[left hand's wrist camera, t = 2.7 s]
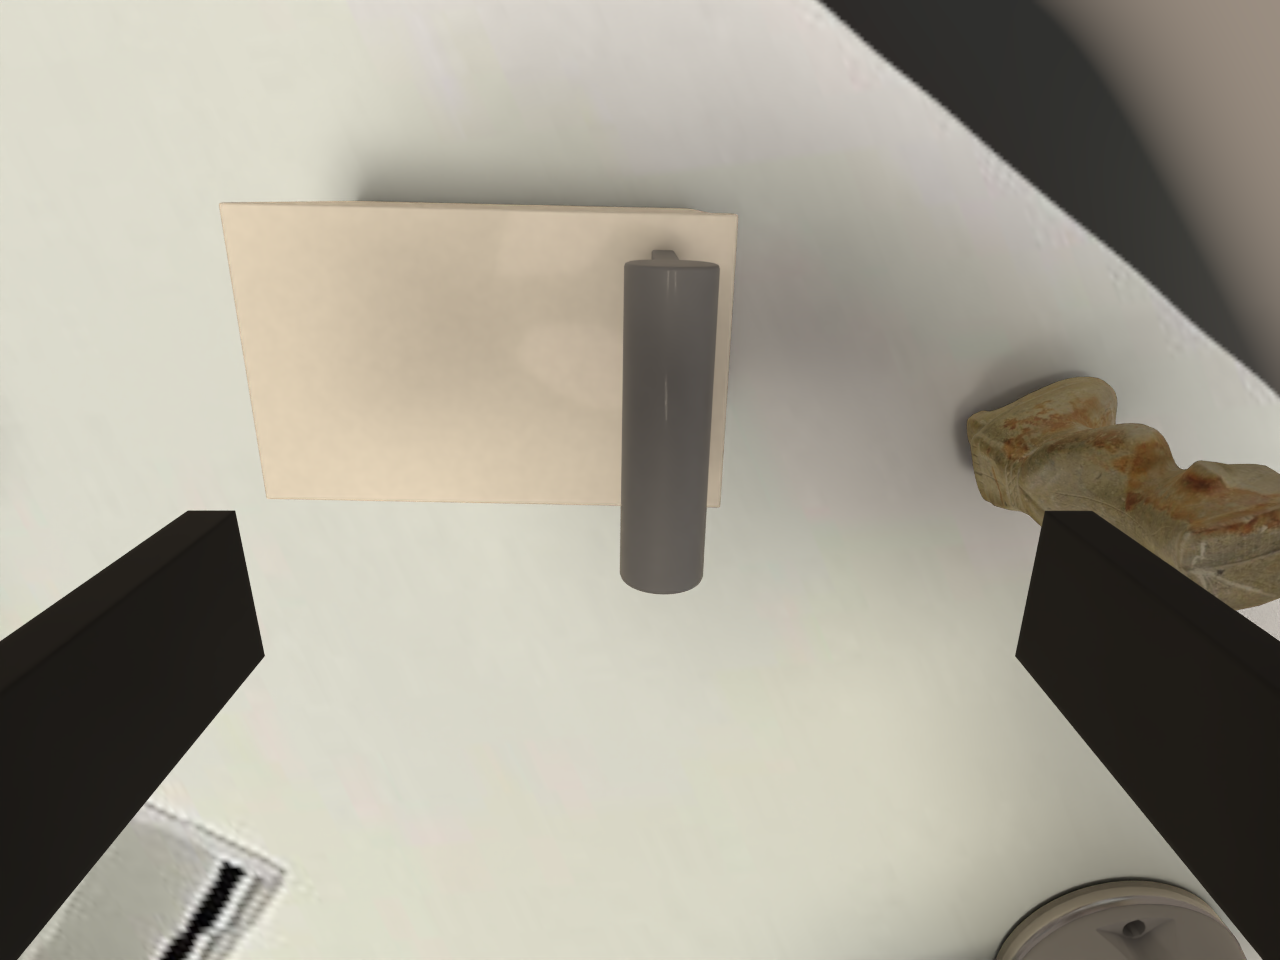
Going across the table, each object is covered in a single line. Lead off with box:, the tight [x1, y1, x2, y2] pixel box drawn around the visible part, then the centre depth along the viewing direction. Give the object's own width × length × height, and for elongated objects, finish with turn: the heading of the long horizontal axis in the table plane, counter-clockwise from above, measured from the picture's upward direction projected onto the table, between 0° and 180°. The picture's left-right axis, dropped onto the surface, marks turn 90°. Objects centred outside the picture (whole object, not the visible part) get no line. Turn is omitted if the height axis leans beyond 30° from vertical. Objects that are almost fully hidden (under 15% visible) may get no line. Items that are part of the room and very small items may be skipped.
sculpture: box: [967, 377, 1280, 610], centre depth 30 cm, size 6×7×15 cm
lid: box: [219, 202, 738, 594], centre depth 21 cm, size 16×10×9 cm, turn 89°
